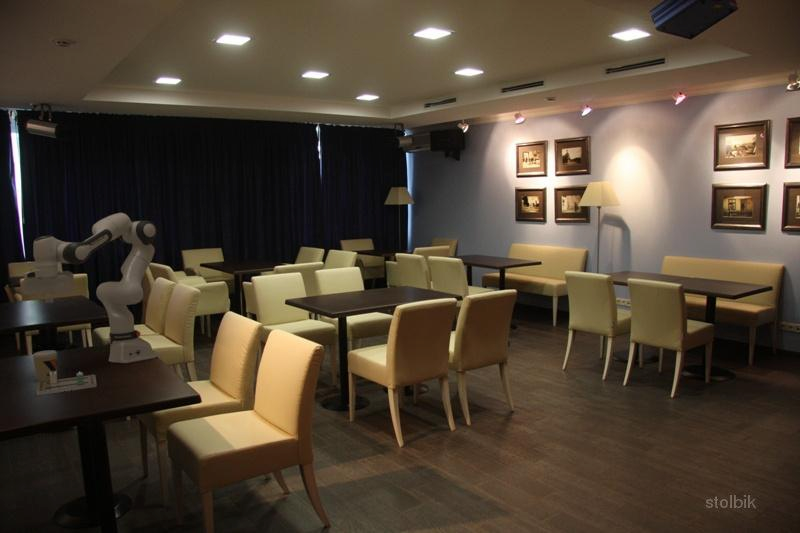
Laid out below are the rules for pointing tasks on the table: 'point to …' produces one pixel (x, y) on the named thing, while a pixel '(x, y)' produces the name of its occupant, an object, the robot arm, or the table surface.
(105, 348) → the table surface
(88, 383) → the console
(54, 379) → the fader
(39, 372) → the coffee cup
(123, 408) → the table surface
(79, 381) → the fader
